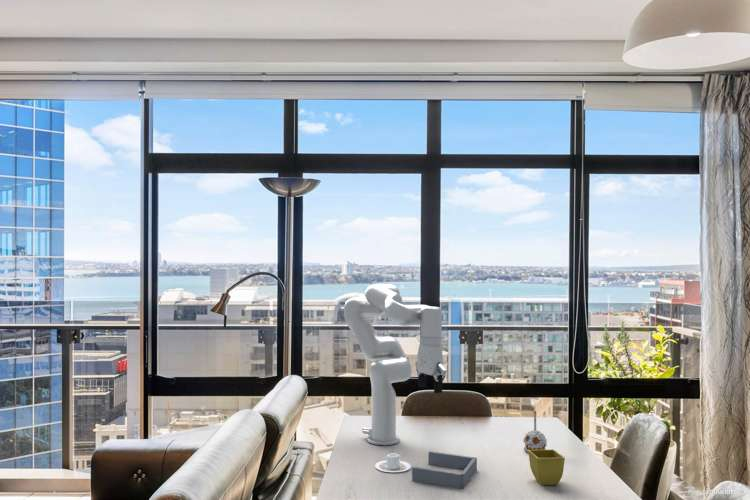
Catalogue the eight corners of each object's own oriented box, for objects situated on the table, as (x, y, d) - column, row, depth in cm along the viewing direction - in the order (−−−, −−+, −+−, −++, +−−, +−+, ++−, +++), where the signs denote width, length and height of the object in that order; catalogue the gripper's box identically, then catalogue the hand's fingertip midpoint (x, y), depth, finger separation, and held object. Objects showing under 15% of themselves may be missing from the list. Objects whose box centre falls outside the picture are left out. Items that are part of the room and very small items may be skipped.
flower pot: (527, 477, 179) (527, 449, 179) (554, 477, 179) (553, 448, 180) (538, 488, 170) (537, 458, 170) (565, 487, 171) (565, 457, 171)
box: (412, 480, 175) (412, 467, 175) (429, 462, 192) (429, 451, 192) (463, 488, 169) (463, 475, 169) (476, 469, 185) (476, 457, 185)
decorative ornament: (520, 452, 205) (520, 411, 205) (530, 447, 210) (530, 407, 211) (540, 457, 199) (540, 414, 200) (550, 452, 205) (549, 411, 206)
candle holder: (380, 475, 180) (380, 462, 180) (371, 463, 192) (371, 451, 192) (415, 472, 183) (415, 459, 183) (404, 461, 195) (404, 448, 195)
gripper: (408, 338, 203) (407, 386, 202) (436, 345, 188) (435, 396, 187) (425, 338, 207) (424, 384, 206) (454, 344, 192) (453, 394, 191)
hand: (429, 389), depth 197 cm, fingers open, 9 cm apart
